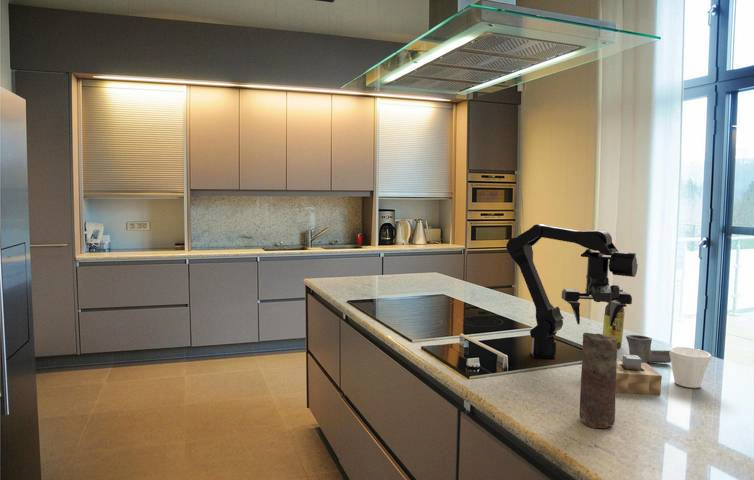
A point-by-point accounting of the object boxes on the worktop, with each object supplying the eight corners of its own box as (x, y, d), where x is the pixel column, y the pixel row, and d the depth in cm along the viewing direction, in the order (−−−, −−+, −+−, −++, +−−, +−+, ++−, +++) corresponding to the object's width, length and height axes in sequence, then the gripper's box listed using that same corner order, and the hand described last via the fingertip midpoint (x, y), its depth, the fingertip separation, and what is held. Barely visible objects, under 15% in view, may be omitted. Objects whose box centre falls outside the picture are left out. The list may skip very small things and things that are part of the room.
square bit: (625, 387, 144) (627, 358, 144) (621, 383, 148) (622, 354, 147) (639, 388, 144) (641, 359, 143) (635, 384, 147) (636, 355, 147)
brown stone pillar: (572, 415, 124) (577, 330, 123) (603, 415, 125) (608, 330, 123) (588, 430, 117) (593, 339, 115) (621, 429, 117) (626, 339, 116)
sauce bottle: (612, 349, 181) (615, 290, 180) (597, 344, 187) (601, 287, 185) (626, 347, 184) (630, 289, 182) (611, 343, 189) (615, 286, 188)
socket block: (615, 391, 141) (616, 372, 140) (603, 377, 152) (604, 360, 151) (660, 394, 140) (661, 375, 139) (644, 380, 150) (646, 362, 150)
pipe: (672, 367, 163) (674, 341, 163) (627, 363, 166) (628, 338, 165) (666, 361, 169) (667, 336, 169) (622, 357, 172) (624, 333, 171)
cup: (703, 381, 151) (706, 349, 150) (713, 393, 141) (715, 359, 141) (663, 377, 154) (666, 345, 153) (670, 388, 145) (672, 354, 144)
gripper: (570, 275, 153) (567, 329, 154) (640, 278, 151) (636, 333, 152) (562, 270, 164) (559, 321, 165) (627, 273, 162) (623, 324, 163)
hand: (594, 325), depth 161 cm, fingers open, 9 cm apart
